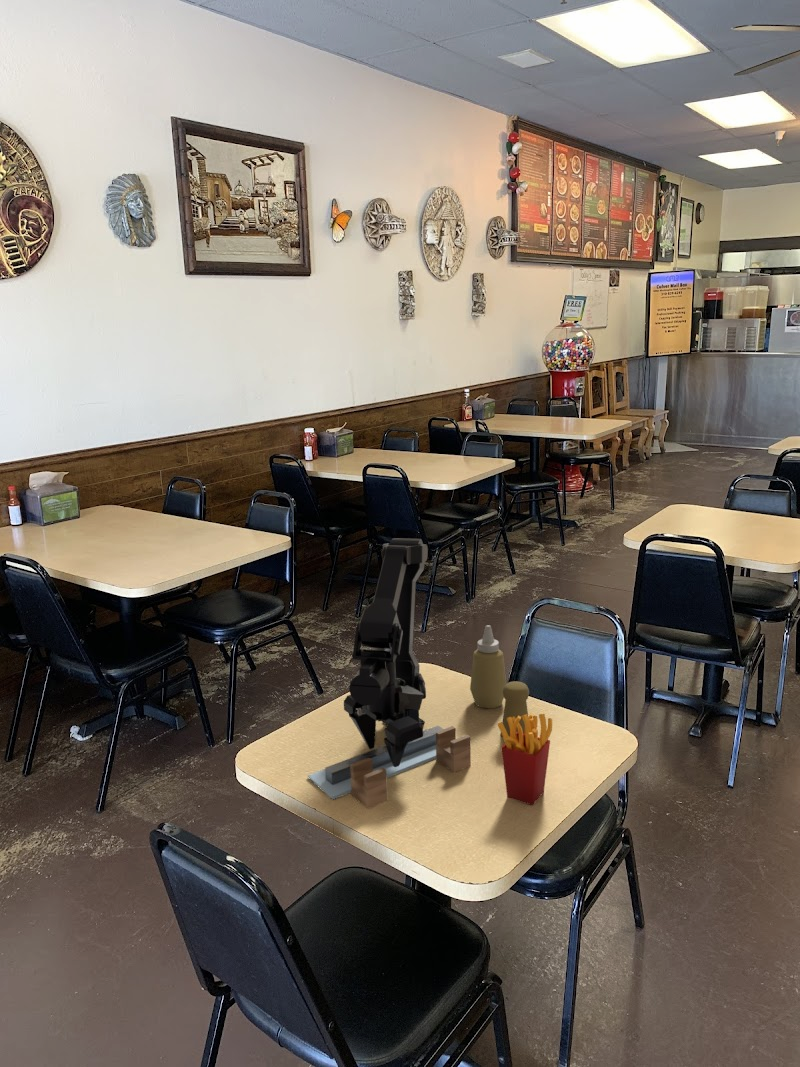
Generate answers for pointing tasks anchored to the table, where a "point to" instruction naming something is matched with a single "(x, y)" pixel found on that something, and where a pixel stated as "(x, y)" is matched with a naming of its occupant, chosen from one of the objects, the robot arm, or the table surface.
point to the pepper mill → (515, 703)
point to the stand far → (452, 749)
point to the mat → (345, 785)
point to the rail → (379, 756)
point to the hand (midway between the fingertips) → (383, 757)
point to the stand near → (368, 783)
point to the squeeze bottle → (488, 672)
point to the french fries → (525, 757)
